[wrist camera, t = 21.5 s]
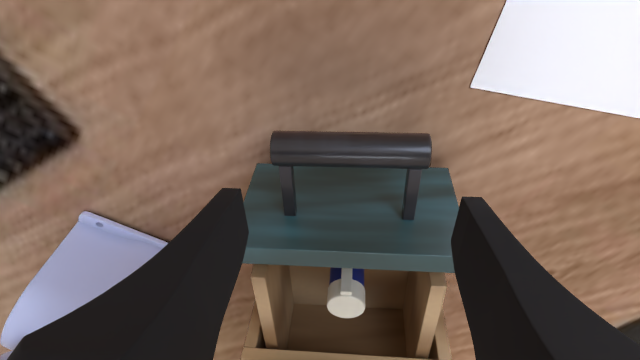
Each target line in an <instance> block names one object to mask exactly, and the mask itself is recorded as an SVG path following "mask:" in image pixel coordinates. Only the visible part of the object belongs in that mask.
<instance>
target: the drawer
mask: <svg viewBox="0 0 640 360" xmlns="http://www.w3.org/2000/svg"><path fill="white" fill-rule="evenodd" d="M431 154H432V142H431V137H430V134H428V133H376V132H317V131H273V133H272V135H271V140H270V158H271V162H272V164H265V163H257V165H256V168H255V171H254V173H253V176H252V179H251V182H250V185H249V188H248V191H247V193H246V196H245V199H244V202H243V204H244V209H245V214H246V219H247V224H248V229H249V235H248V240H247V245H246V250H245V254H244V259H243V262H242V263H246V264H254V266H253V270H252V273H251V282H252V286H253V291H254V295H255V300H256V304H257V309H258V313H259V318H260V322H261V327H262V331H263V336H264V340H265V345H266V349H277V350H293V351H308V352H324V353H339V354H355V355H370V356H386V357H402V358H417V359H428V356H429V352H430V348H431V345H432V341H433V337H434V334H435V330H436V326H437V322H438V319H439V315H440V311H441V307H442V304H443V300H444V296H445V293H446V289H447V284H446V279H445V274H444V273H455V271H454V264H453V257H452V249H451V237H452V233H453V230H454V226H455V222H456V218H457V214H458V210H459V206H458V202H457V199H456V195H455V192H454V188H453V184H452V181H451V177H450V173H449V170H448V168H431V167H429V166H430V162H431ZM331 267H333V268H355V269H364V288H365V310H364V312H363V313H362V314H361V315H359V316H357V317H354V318H341V317H337V316H335V315H333V314H332V313H330V312H329V310H328V308H327V295H328V287H329V281H330V269H331Z"/></svg>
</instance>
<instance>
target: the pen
mask: <svg viewBox="0 0 640 360" xmlns="http://www.w3.org/2000/svg"><path fill="white" fill-rule="evenodd" d="M327 308H328V310H329V312H330V313H332V314H333V315H335V316H337V317H341V318H354V317H357V316H359V315H361V314H362V313H363V312H364V310H365V288H364V269H355V268H333V267H331V269H330V281H329V287H328V295H327Z"/></svg>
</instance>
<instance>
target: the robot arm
mask: <svg viewBox="0 0 640 360" xmlns="http://www.w3.org/2000/svg"><path fill="white" fill-rule="evenodd" d="M248 235H249V229H248V224H247V219H246V214H245V209H244V204H243V198H242V193H241V189H236V188H222V189H221V190H220V191H219V192H218V193H217V194H216V195H215V197H214V198H213V199H212V200H211V201H210V202H209V203H208V204H207V205H206V206H205V207H204V208H203V209H202V210H201V212H200V213H199V214H198V215H197V216H196V217H195V218H194V219H193V220H192V221H191V222H190V223H189V224H188V225H187V226H186V227H185V228H184V229H183V230H182V231H181V232H180V233H179V234H178V235H177V236H176V237H175V238H174V239H172V240H171V241H170V242H169V243H168V242H165V241H163V240H160V239H157V238H155V237H152V236H150V235H147V234H145V233H142V232H140V231H137V230H134V229H132V228H129V227H127V226H124V225H122V224H119V223H116V222H114V221H111V220H109V219H106V218H104V217H101V216H98V215H96V214H93V213H91V212H88V211H83V212H82V213H81V214H80V215H79V219H78V222H77V223H76V225H75V226H74V227H73V228H72V230H71V231H70V232H69V234H68V235H67V236H66V237H65V239H64V240H63V241H62V242H61V244H60V245H59V246H58V247H57V249H56V250H55V251H54V253H53V254H52V255H51V256H50V258H49V259H48V260H47V261H46V263H45V264H44V265H43V266H42V268H41V269H40V270H39V272H38V273H37V274H36V275H35V277H34V278H33V279H32V280H31V282H30V283H29V284H28V286H27V287H26V289H25V290H24V292H23V293H22V295H21V296H20V298H19V299H18V301H17V303H16V304H15V306H14V308H13V309H12V311H11V313H10V315H9V317H8V319H7V321H6V323H5V326H4V328H3V331H2V334H1V340H0V342H1V345H2V346H4V347H6V348H8V349H10V350H13V351H10V352H7V353H4V354H2V355H1V356H0V360H213V357H214V352H215V348H216V344H217V339H218V335H219V331H220V327H221V324H222V321H223V317H224V314H225V311H226V309H227V306H228V303H229V300H230V297H231V294H232V291H233V288H234V286H235V283H236V280H237V277H238V274H239V271H240V268H241V265H242V262H243V259H244V254H245V250H246V245H247V240H248ZM451 249H452V257H453V264H454V271H455V275H456V279H457V282H458V286H459V290H460V294H461V298H462V301H463V305H464V309H465V313H466V316H467V320H468V324H469V328H470V331H471V336H472V340H473V345H474V350H475V357H476V360H640V345H639V344H638V343H636V342H635V341H633V340H632V339H630V338H629V337H627V336H626V335H624V334H623V333H622V332H620V331H619V330H617V329H616V328H615V327H613V326H612V325H610V324H609V323H608V322H606V321H605V320H604V319H603V318H601V317H600V316H599V315H597V314H596V313H595V312H593V311H592V310H591V309H590V308H588V307H587V306H586V305H585V304H583V303H582V302H581V301H580V300H578V299H577V298H576V297H575V296H574V295H573V294H571V293H570V292H569V291H568V290H567V289H566V288H565V287H563V286H562V285H561V284H560V283H559V282H558V281H557V280H556V279H554V278H553V277H552V276H551V275H550V274H549V273H548V272H547V271H546V270H545V269H544V268H543V267H542V266H541V265H540V264H539V263H538V262H537V261H536V260H535V259H534V258H533V257H532V256H531V255H530V253H529V252H528V251H527V250H526V249H525V248H524V247H523V246H522V245H521V243H520V242H519V241H518V240H517V239H516V238H515V237H514V236H513V234H512V233H511V232H510V231H509V230H508V229H507V227H506V226H505V225H504V224H503V223H502V221H501V220H500V219H499V218H498V216H497V215H496V214H495V213H494V212H493V210H492V209H491V208H490V207H489V205H488V204H487V203H486V202H485V200H484V199H483V198H482V197H462V199H461V203H460V206H459V210H458V214H457V218H456V222H455V226H454V230H453V233H452V237H451Z"/></svg>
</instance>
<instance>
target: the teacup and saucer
mask: <svg viewBox="0 0 640 360" xmlns="http://www.w3.org/2000/svg"><path fill="white" fill-rule="evenodd" d="M470 87H471V88H476V89H482V90H487V91H493V92H498V93H504V94H509V95H515V96H520V97H526V98H531V99H537V100H542V101H547V102H553V103H558V104H564V105H569V106H575V107H580V108H586V109H591V110H597V111H602V112H608V113H613V114H619V115H624V116H630V117H635V118H640V0H507V1H506V4H505V6H504V8H503V11H502V13H501V15H500V18H499V20H498V22H497V25H496V27H495V29H494V32H493V34H492V36H491V39H490V41H489V43H488V46H487V48H486V51H485V53H484V55H483V58H482V60H481V62H480V65H479V67H478V69H477V72H476V74H475V76H474V79H473V81H472V83H471V86H470Z"/></svg>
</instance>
